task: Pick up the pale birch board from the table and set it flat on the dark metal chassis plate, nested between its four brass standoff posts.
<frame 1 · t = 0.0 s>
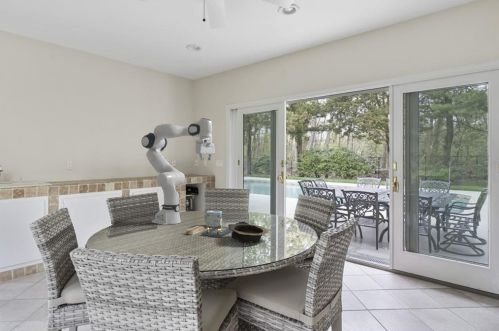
hand: (205, 160, 209), 48 cm above the table, tool pointing down, fingers open, 8 cm apart
birch board: (195, 232, 195), on the table
chassis: (219, 232, 194), on the table
stone bowl: (248, 239, 179), on the table
light bulb box: (214, 226, 213), on the table
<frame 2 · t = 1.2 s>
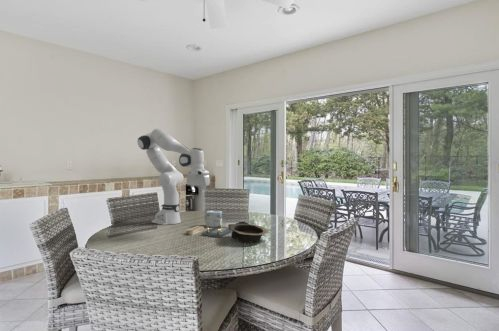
hand: (198, 192, 197), 26 cm above the table, tool pointing down, fingers open, 8 cm apart
nothing on the table moved.
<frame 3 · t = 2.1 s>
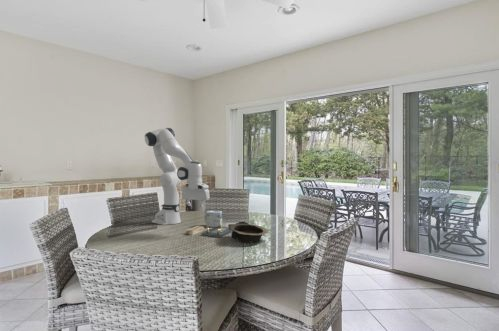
hand: (195, 206, 194), 17 cm above the table, tool pointing down, fingers open, 8 cm apart
nothing on the table moved.
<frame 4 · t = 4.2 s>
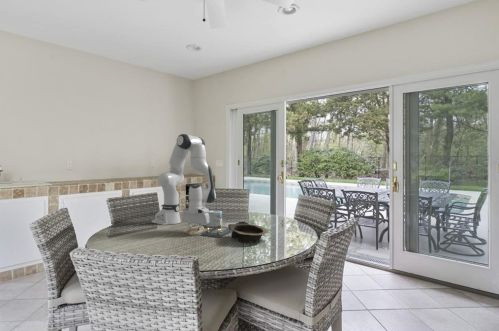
hand: (195, 229, 195), 2 cm above the table, tool pointing down, fingers closed on birch board, 5 cm apart
birch board: (195, 232, 195), on the table, touching gripper
everything else where it was.
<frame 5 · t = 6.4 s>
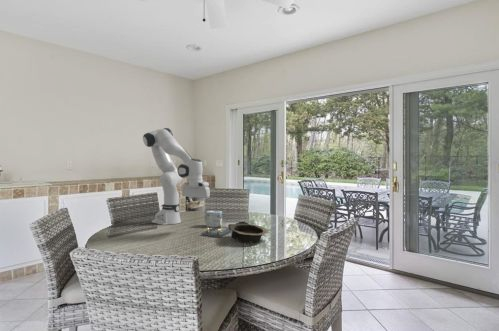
hand: (195, 203, 194), 19 cm above the table, tool pointing down, fingers closed on birch board, 5 cm apart
birch board: (195, 206, 194), point 17 cm above the table, touching gripper
everything else where it was.
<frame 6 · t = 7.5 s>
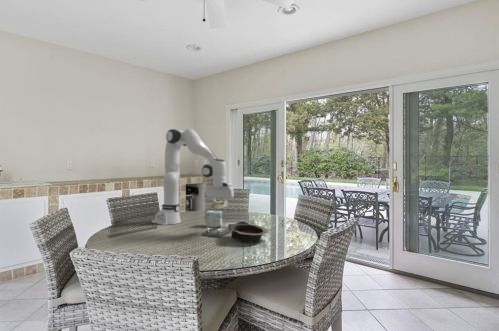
hand: (219, 204, 193), 19 cm above the table, tool pointing down, fingers closed on birch board, 5 cm apart
birch board: (219, 206, 194), point 17 cm above the table, touching gripper
everything else where it was.
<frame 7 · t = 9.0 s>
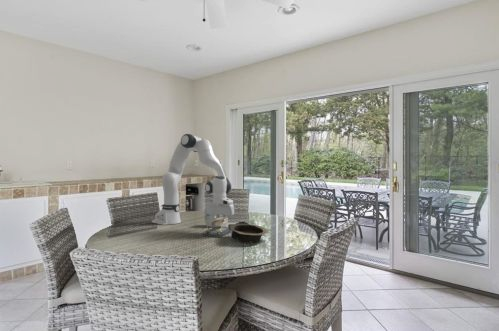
hand: (219, 221, 194), 8 cm above the table, tool pointing down, fingers closed on birch board, 5 cm apart
birch board: (219, 223, 194), point 6 cm above the table, touching gripper
everything else where it was.
when the fingers open (5 cm above the table, at t = 10.0 s): birch board drops 1 cm, resting on chassis.
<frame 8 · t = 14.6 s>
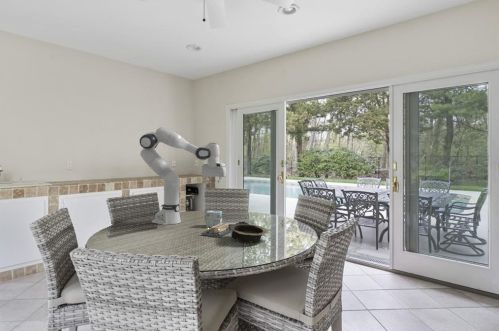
hand: (213, 182, 221), 31 cm above the table, tool pointing down, fingers open, 8 cm apart
birch board: (219, 230, 194), point 2 cm above the table, touching chassis
everything else where it was.
at the end: birch board 0.2 cm off-centre on the chassis, point 1.6 cm above the chassis's base; birch board tilted 0°; the gripper is holding nothing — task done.
